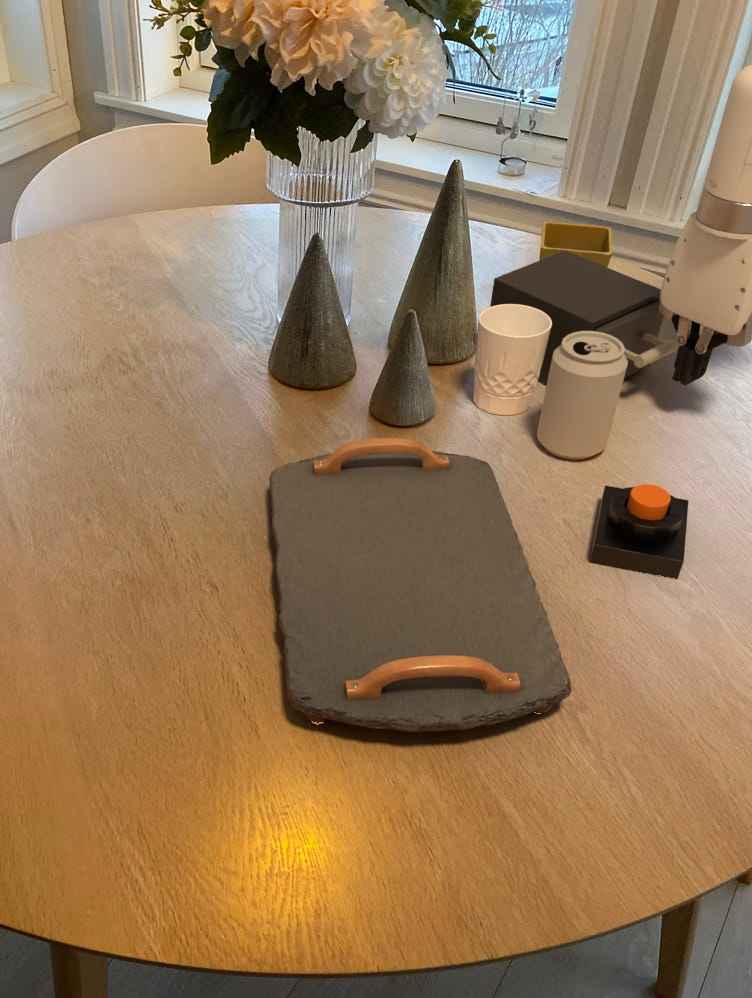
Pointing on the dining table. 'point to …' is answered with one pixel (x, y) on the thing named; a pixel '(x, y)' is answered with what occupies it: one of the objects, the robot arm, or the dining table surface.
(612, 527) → the panel
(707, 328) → the robot arm
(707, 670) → the dining table surface
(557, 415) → the can
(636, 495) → the button
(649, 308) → the drawer
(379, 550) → the serving tray
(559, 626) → the dining table surface
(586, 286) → the cabinet
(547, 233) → the flower pot
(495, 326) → the white cup
